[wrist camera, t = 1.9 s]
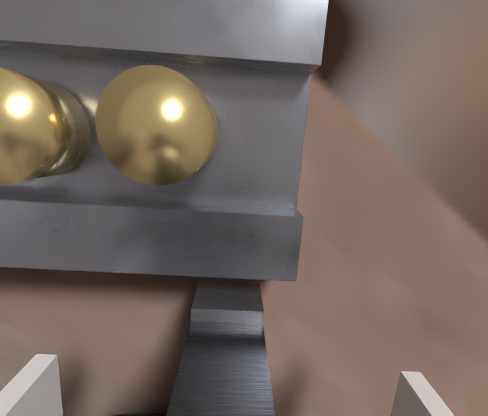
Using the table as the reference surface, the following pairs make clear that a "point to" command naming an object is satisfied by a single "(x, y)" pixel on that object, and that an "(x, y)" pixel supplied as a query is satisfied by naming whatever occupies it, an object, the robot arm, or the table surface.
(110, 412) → the table surface
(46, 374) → the robot arm
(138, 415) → the coffee jar
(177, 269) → the slot board
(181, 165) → the brass round knob
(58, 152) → the gold dome knob
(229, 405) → the stepped gray block
